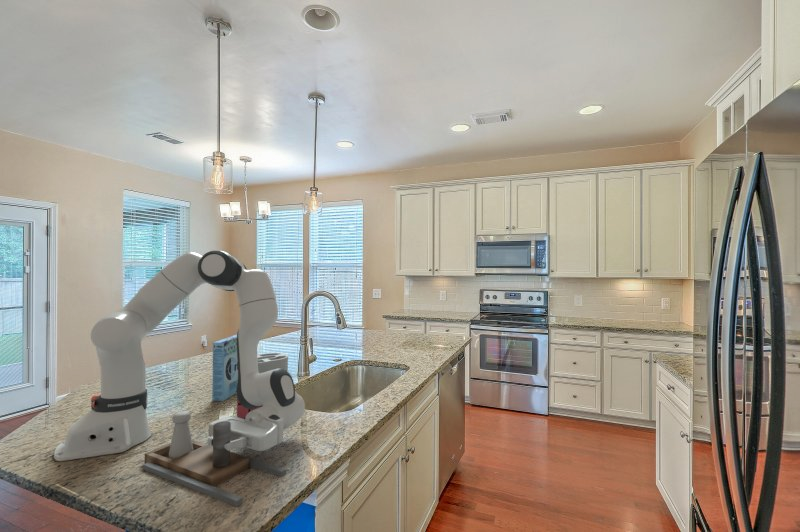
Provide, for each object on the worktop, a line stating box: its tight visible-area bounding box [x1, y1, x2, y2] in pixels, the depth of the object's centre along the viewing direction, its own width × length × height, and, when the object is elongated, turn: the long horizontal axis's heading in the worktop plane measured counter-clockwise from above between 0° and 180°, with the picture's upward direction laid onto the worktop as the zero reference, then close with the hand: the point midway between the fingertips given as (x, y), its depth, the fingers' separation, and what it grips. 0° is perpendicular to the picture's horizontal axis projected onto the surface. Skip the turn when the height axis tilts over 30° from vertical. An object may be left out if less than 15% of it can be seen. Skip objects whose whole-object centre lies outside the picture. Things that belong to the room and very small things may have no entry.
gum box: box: [211, 334, 238, 402], centre depth 159 cm, size 20×5×23 cm, turn 177°
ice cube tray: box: [257, 352, 289, 374], centre depth 185 cm, size 17×28×9 cm, turn 132°
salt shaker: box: [168, 410, 194, 460], centre depth 103 cm, size 6×6×13 cm
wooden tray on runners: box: [144, 421, 250, 488], centre depth 101 cm, size 26×11×12 cm, turn 64°
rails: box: [142, 440, 287, 508], centre depth 98 cm, size 34×15×2 cm, turn 64°
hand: (217, 444), depth 96 cm, fingers open, 5 cm apart
